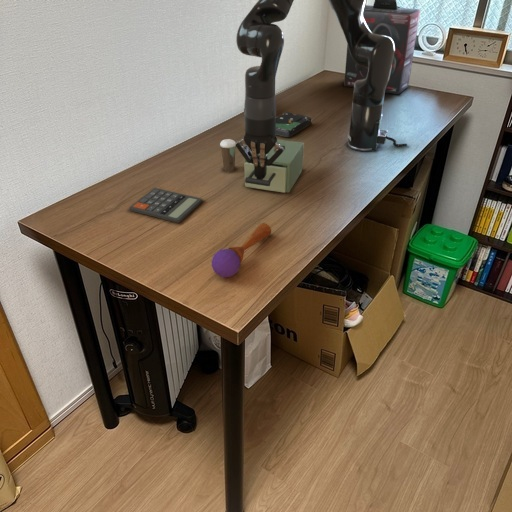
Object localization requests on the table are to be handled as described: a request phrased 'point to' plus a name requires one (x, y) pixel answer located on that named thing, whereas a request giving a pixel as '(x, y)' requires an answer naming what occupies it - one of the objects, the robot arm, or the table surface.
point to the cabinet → (290, 160)
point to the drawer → (267, 178)
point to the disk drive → (291, 124)
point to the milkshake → (228, 154)
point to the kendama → (237, 253)
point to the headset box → (403, 35)
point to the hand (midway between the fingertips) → (260, 178)
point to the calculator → (166, 205)
